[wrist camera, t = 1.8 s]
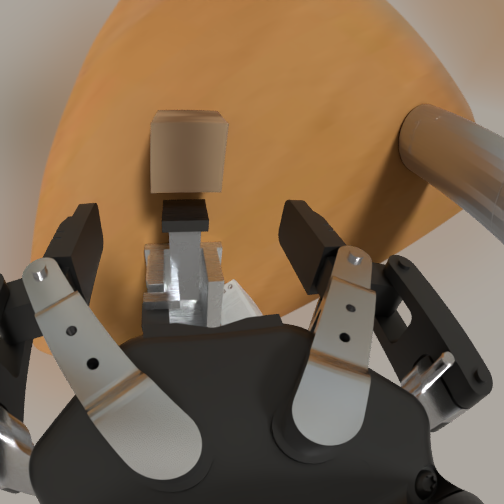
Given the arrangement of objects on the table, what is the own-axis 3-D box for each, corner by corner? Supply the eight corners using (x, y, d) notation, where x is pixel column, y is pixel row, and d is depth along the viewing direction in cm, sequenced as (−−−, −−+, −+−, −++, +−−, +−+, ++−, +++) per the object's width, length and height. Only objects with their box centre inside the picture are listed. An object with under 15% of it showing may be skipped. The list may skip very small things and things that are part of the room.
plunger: (204, 199, 24) (211, 234, 19) (201, 280, 29) (207, 321, 25) (140, 200, 22) (132, 237, 18) (149, 282, 28) (147, 324, 23)
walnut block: (217, 111, 21) (228, 123, 16) (212, 164, 24) (221, 192, 19) (158, 110, 20) (150, 122, 15) (156, 164, 23) (151, 193, 18)
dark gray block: (168, 302, 24) (169, 325, 22) (169, 308, 24) (170, 331, 22) (142, 303, 23) (141, 326, 21) (143, 309, 24) (143, 332, 22)
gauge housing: (220, 241, 29) (230, 280, 25) (215, 310, 36) (223, 348, 31) (145, 244, 27) (141, 284, 23) (154, 314, 34) (155, 352, 29)
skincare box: (205, 296, 33) (245, 381, 25) (235, 275, 33) (284, 356, 25) (228, 316, 38) (268, 390, 29) (255, 298, 38) (300, 369, 29)
